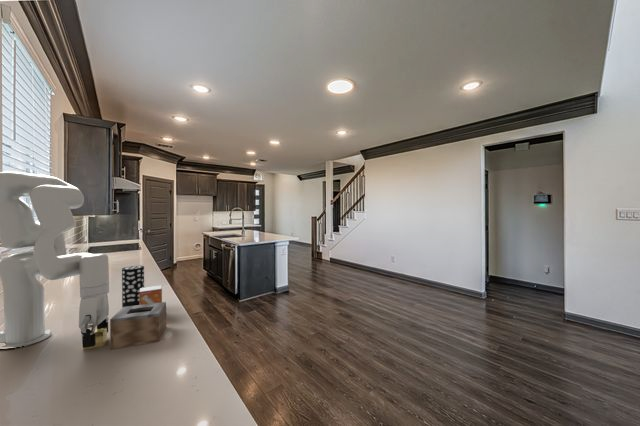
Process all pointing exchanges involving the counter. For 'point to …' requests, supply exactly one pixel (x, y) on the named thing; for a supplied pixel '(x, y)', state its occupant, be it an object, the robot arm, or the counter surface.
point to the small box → (150, 295)
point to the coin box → (138, 325)
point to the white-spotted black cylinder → (132, 285)
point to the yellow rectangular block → (100, 337)
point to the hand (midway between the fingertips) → (96, 339)
